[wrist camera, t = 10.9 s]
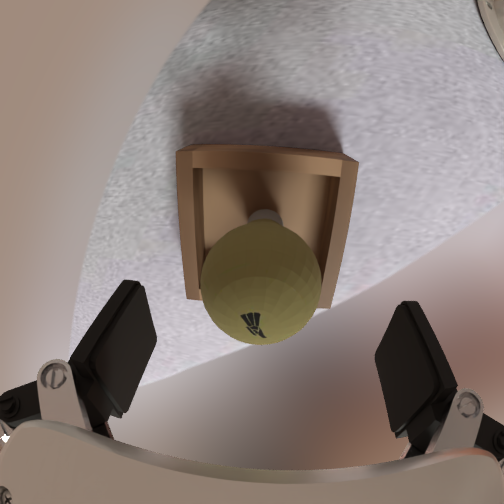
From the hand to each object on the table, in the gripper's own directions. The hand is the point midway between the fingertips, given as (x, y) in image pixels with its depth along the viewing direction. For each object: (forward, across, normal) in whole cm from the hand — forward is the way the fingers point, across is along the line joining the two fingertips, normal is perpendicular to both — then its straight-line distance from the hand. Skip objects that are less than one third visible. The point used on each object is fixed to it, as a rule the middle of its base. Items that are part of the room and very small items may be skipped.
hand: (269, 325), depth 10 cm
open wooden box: (+12, +1, +1) cm, 12 cm away
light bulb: (+11, +1, +1) cm, 11 cm away
